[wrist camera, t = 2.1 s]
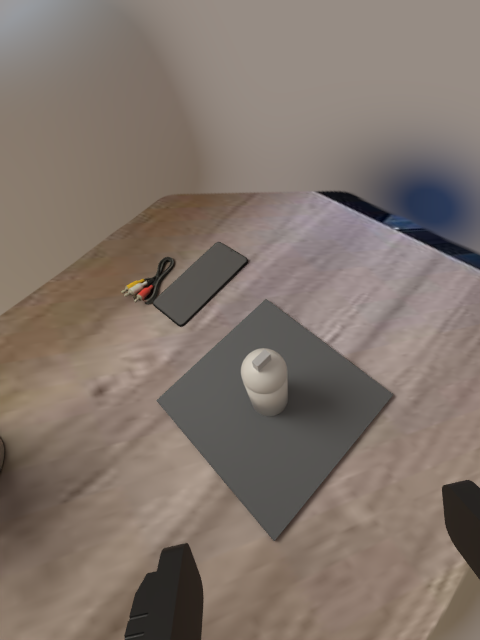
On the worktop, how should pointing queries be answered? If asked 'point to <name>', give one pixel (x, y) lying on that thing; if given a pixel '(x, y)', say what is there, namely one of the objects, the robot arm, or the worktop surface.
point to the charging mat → (274, 431)
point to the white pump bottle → (266, 381)
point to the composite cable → (148, 283)
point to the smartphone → (199, 283)
